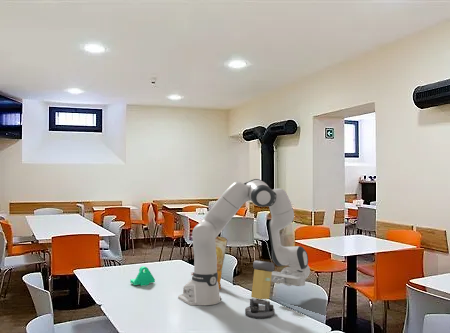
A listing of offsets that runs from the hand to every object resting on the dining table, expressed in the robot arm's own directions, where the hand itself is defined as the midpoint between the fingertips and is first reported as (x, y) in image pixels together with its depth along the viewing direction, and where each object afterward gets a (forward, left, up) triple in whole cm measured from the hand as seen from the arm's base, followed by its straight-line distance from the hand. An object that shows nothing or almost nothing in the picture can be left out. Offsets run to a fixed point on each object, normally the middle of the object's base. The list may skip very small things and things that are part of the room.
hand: (275, 281), depth 200 cm
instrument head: (+3, -13, -6) cm, 15 cm away
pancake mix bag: (-48, +3, -12) cm, 50 cm away
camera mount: (-79, -24, -12) cm, 84 cm away
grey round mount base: (+3, -13, -12) cm, 18 cm away
